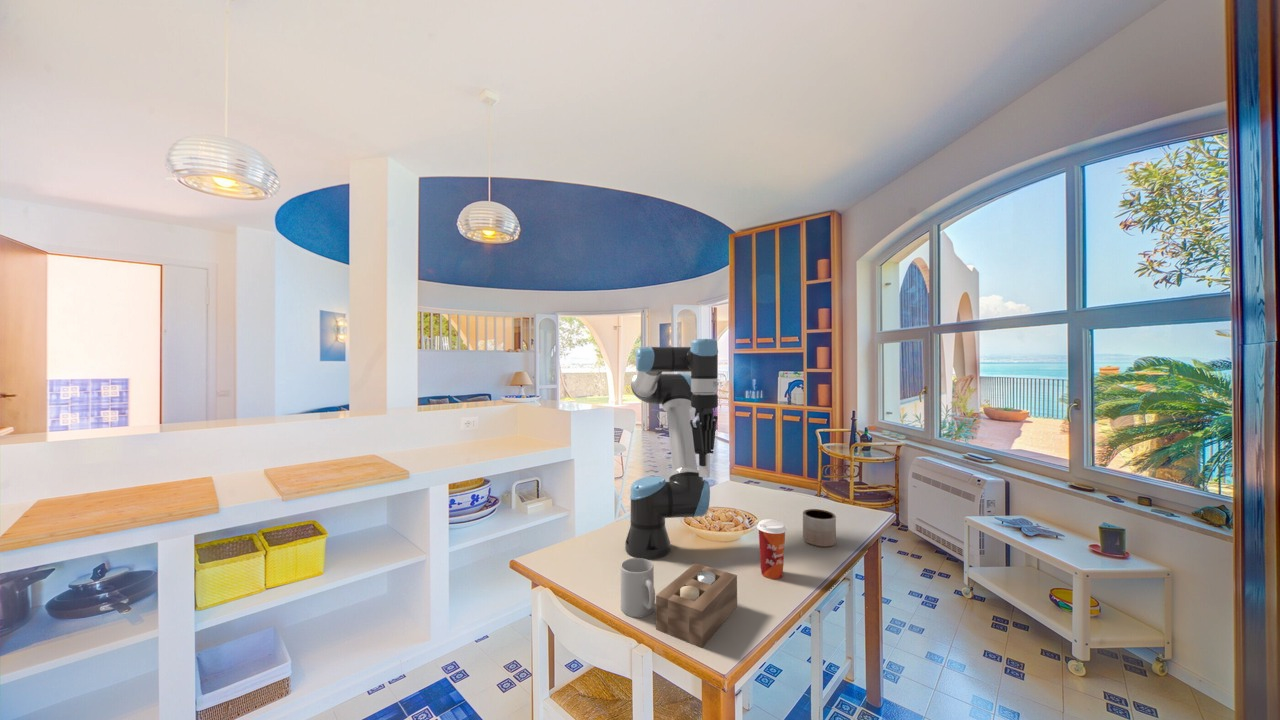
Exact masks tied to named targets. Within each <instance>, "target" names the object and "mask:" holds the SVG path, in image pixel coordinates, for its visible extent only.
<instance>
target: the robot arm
mask: <svg viewBox="0 0 1280 720" xmlns="http://www.w3.org/2000/svg"><path fill="white" fill-rule="evenodd" d="M635 353H636V354H635V369H636V371H637V373H636V374H635V375H634V376H633V378H632V380H631V382H630V388H631V392H632V393H633V395H634V396H635V398H637V399H638V400H640V401H642V402H643V403H644V402H645V403H646V404H647V403H648V404H651V405H662V409H663V411H664V412H666V414H667V415H666V416H667V422H668V423H667V425H668V435H669V445H670V446H669V447H670V455H671V466H672V468H671V469H672V473H671V474H670V475H669V477H668V481H666V479H665V478H664V477H662V476H655V475H654V476H652V475H651V476H645V477H641V478H638V479H637V480H635V481H633V482H632V484H631V486H630V494H629V499H630V527H629V528H628V532H627V536H626V539H625V542H624V543H625V544H624V546H625V547H624V548H625V549H624V550H625V552H626V553H627V554H628V555H629V556H632V557H633V558H642V559H647V560H650V559H659V558H662V557H665V556H667V555H668V554H669V553H670V552H671V541H670V537H669V534H668V531H667V528H666V519H670V518H671V519H673V518H695V517H698V518H699V517H703V516H705V515H707V513H708V511H709V507H710V502H711V501H710V500H711V487H710V486H711V485H710V482H709V481H708V480H706V479H708V478H710V477H711V456H710V455H711V454H712V455H713V454H714V452H715V451H714V448H715V438H716V431H717V424H718V423H717V422H718V415H714V414H715V412H714V409H716V408H718V406H719V405H718V404H719V403H718V402H719V401H718V400H719V399H718V398H719V396H718V394H716V393H718V392H719V391H718V387H719V384H720V383H719V382H718V379H719V378H718V377H719V376H718V375H719V374H718V372H719V370H718V369H719V366H718V365H719V363H718V361H719V360H718V359H719V355H718V354H719V350H718V341H717V340H716V339H715V338H714V339H713V338H696V339H692V340H691V343H690V346H641V347H638V348H637V349H636V351H635ZM665 372H666V373H665ZM667 372H668V373H667ZM669 372H672V373H669ZM673 372H675V373H673ZM676 372H677V373H676ZM679 372H682V373H679ZM683 372H684V373H683ZM685 372H686V373H685ZM687 372H690V374H687ZM692 408H694V409H695V410H694V418H693V419H692V418H691V411H690V410H691V409H692ZM696 454H697V455H698V465H697V459H696V458H697V457H696ZM703 478H704V479H703ZM705 478H706V479H705Z"/></svg>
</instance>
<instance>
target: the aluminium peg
mask: <svg viewBox="0 0 1280 720" xmlns="http://www.w3.org/2000/svg"><path fill="white" fill-rule="evenodd" d="M697 581H700V582H704V583H707V584H710V585H712V584H713V583H714V582H715V574H714V573H712V572H709V571H702V572H699V573H698V574H697Z"/></svg>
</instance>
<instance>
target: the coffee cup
mask: <svg viewBox="0 0 1280 720" xmlns="http://www.w3.org/2000/svg"><path fill="white" fill-rule="evenodd" d="M756 528H757V530H758V540H759V543H758V544H759V556H760V557H759V558H760V573H761V576H763V578H764V577H765V578H766V579H770V580H779V579H781V578H783V571H784V562H785V561H784V559H785V556H784V555H785V543H786V542H785V541H786V540H785V539H786V532H787V528H786V526H785V523H783V522H782V521H780V520H776V519H770V518H767V519H766V518H765V519H762V520H760V521H759V522H758V524H757V526H756Z"/></svg>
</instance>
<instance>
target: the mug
mask: <svg viewBox="0 0 1280 720" xmlns="http://www.w3.org/2000/svg"><path fill="white" fill-rule="evenodd" d="M654 574H655V573H654V563H653V562H652V561H651V560H650V559H645V558H638V557H632V558H629V559H626V560H624V561H622V562H621V564H620V610H621V612H622V613H623V614H624V615H625V616H628V617H631V618H643V617H644V618H645V617H646V616H648V615H650V614H652V613H653V611H654V608H655V605H656V593H655V592H656V591H655V586H654V579H655V578H654Z"/></svg>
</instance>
